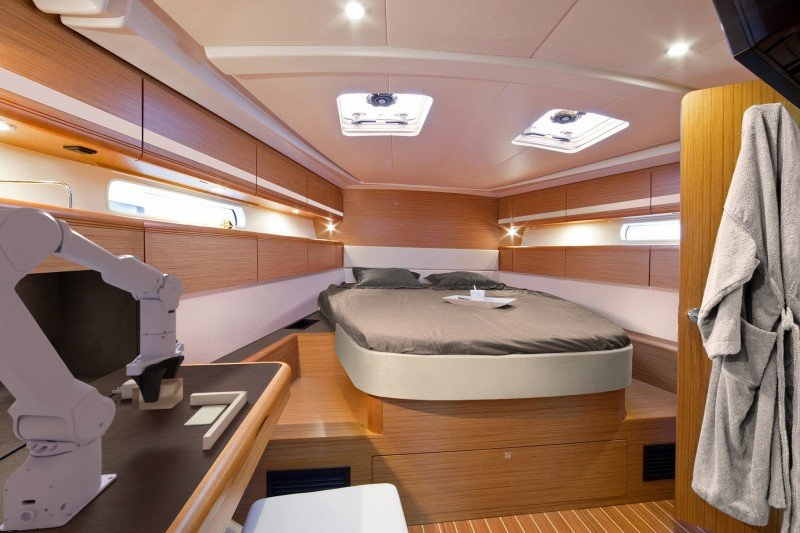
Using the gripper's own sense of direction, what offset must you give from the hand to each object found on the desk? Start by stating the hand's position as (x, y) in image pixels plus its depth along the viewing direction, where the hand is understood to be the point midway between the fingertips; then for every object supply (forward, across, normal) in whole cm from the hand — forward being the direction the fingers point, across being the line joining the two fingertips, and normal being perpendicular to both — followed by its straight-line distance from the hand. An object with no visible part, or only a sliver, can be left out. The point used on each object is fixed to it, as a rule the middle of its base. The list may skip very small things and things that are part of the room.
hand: (158, 396), depth 61 cm
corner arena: (+8, +4, -6) cm, 11 cm away
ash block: (+2, 0, 0) cm, 2 cm away
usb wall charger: (+8, +20, +19) cm, 29 cm away
